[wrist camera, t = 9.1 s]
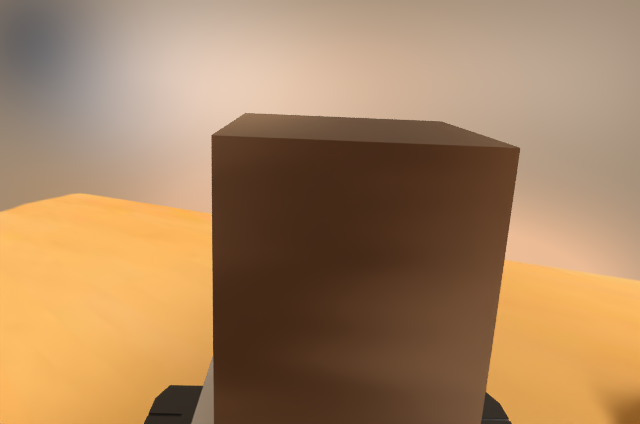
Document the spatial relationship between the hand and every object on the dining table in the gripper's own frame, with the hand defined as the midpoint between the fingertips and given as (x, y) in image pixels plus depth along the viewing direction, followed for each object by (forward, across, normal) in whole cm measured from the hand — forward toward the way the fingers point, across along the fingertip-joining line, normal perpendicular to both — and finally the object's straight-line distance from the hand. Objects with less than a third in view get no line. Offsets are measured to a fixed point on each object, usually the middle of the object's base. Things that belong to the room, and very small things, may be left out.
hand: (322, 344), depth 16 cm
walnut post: (-5, 0, -9) cm, 10 cm away
